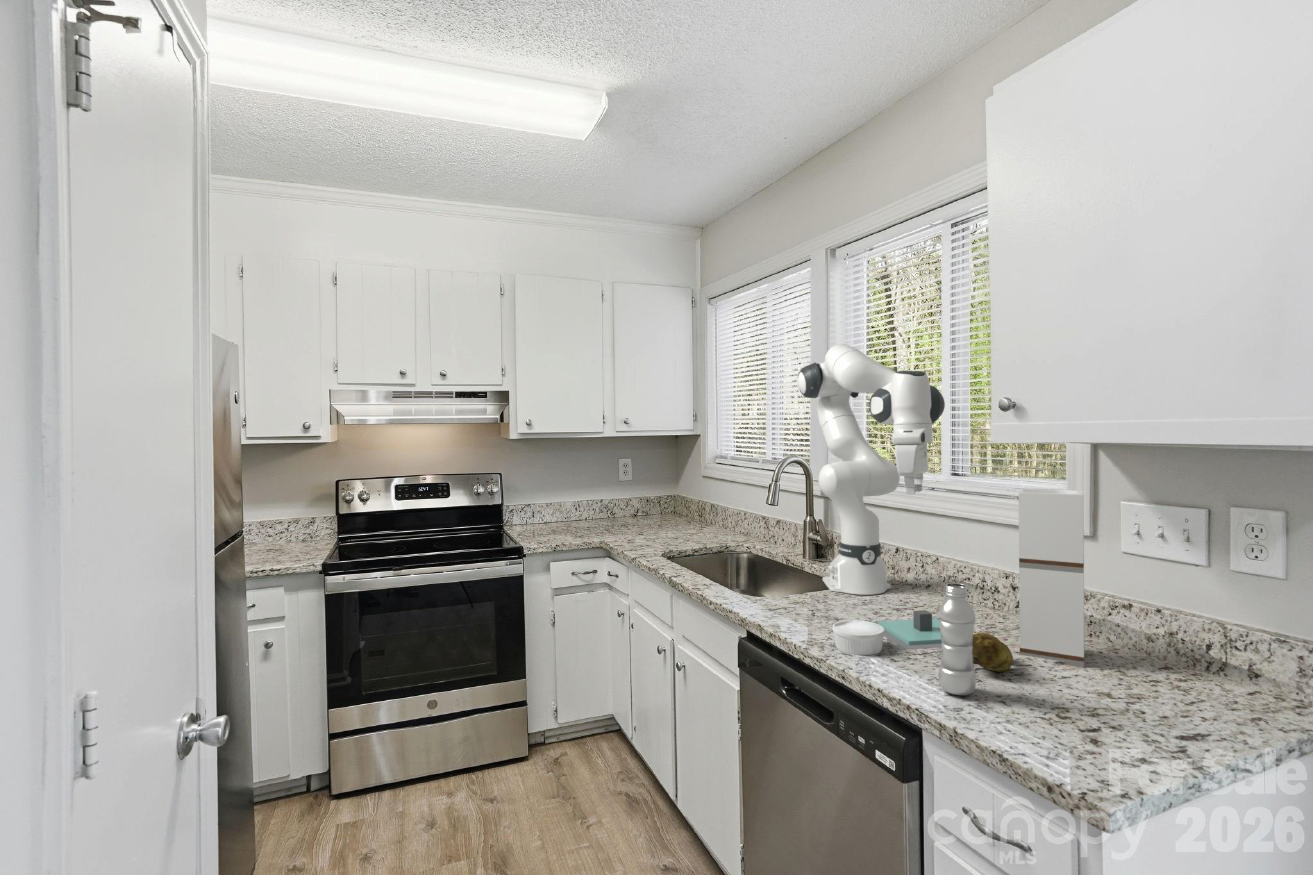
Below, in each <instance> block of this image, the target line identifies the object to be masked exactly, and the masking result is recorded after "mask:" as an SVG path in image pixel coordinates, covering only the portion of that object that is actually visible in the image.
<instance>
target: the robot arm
mask: <svg viewBox="0 0 1313 875" xmlns="http://www.w3.org/2000/svg"><path fill="white" fill-rule="evenodd" d="M824 356H825V357H824V361H823V362H822V361H821V362H818V363H817V362H813V363H810V364H808V365H806V366H803V367H801V369H800V370H799V372H798V374H797V386H798V390H799V392H800V394H801V395H802V396H803V397H804V398H807V399H817V398H819V399H818V400H817V402H816V414H817V419H818V420H817V421H818V423H819V427H820V430H821V433H822V436H823V439H824V441H825V444H826V446H827V449H828V451H829V452H830V453H831V454H832V455H833V456H834V457H836V458H838V459H841V460H838V461H834V462H831V463H828V464H825V465H823V466H822V467H821V468H820V471H819V473H818V476H817V482H818V485H819V486H818V487H819V489H820V490H821V492H822V493H823V494H824V495H825V496H826V497H828V498H829V499H830V500H831V501H832V503H833V504H834V506H835V508H836V510H837V514H838V516H839V524H840V525H839V526H840V542H838V543H839V544H838V552H837V553H838V554H837V556H835V558H833V560H832V561H831V562H830V564H829V565H827V570H826V571H827V574H829V575H826V576H823V577H822V582H824V584H825V586H826V587H827V588H828V589H829V590H830V591H831V592H837V593H844V594H845V593H846V594H851V595H863V596H864V595H866V596H867V595H879V594H882V593H885V592H886V591H887V590H889V589H891V588H892V587H891V586H892V585H891V583H888V581H887V570H886V562H885V560H884V559H882V557H881V555H882V544H881V542H880V520H879V518H878V516H877V515H876V513H875V512H873V511H871V510H870V509H868V508H867V507H866V504H865V501H864V497H865V498H866V497H878V496H884V495H887V494H889V493H893V492H895V491H896V490H897V489H898V487H899V484H900V479H901V478H900V477H903V478H904V485H905V491H906V492H905V493H906V495H909V496H910V495H911V496H913V495H915V494H916V493H917V492H918V493H920V492H922V491H923V481H924V473H927V472H928V471H929V456H928V444H931V443H933V424H935V423H936V421H938V420H939V418H940V417H941V416H942V414H943V413H944V411H945V407H946V406H945V405H946V402H945V397H944V396H943V395H942V393H941V391H940V390H939V389H937V387H936V386H934V385H931V384H930V379H929V377H928V375H927V373H925V372H924V371H921V370H898V371H897V370H895V369H892V368H891V367H888V366H886V365H884V364H882V363H880V362H878V361H876V360H874V359H873V358H871V357H870V356H868V355H866V354H865V353H863V352H862V351H861V350H859V349H857V348H855V347H853V346H851V345H849V344H845V343H844V344H843V343H840V344H839V343H838V344H836V345H833V346H831V347H830V348H829V350H828V351H827V352H826V354H825V355H824ZM859 393H862V394H872V395H871V396H870V398H869V411H870V412H869V413H870V416H872V419H874V420H875V421H876V422H877V423H879V424H883V425H884V424H885V425H892V428H893V432H892V433H893V434H892V438H891V442H892V444H893V445H895V446H894V453H895V463H896V465H895V464H894V463H893V462H891V461H889V460H888V459H885V458H884V457H882V456H881V455H880V454H879V453H878V452H877V451H875V449H873V447H871V445H870V444H869V443H868V441H867V440H866V438H865V437H864V434H863V433H862V430H861V428H860V426H859V424H858V420H857V419H856V416H855V414H854V412H853V410H852V408H851V404H850V397H851V398H854V399H856V398H858V397H859V395H860V394H859Z"/></svg>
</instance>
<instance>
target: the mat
mask: <svg viewBox="0 0 1313 875" xmlns="http://www.w3.org/2000/svg"><path fill="white" fill-rule="evenodd" d="M935 618H936V617H935ZM936 619H938V620H939V617H937V618H936ZM871 622H872V623H876V624H878V622H881V621H871ZM883 638H886V639H888V640H889V641H891V642H892V643H893V644H895V645H896V646H898V648H901V649H902V650H905V651H906V650H918V649H919V650H920V649H931V648H932V649H933V648H934V649H935V648H942V643H931V644H915V645H908V644H907V643H905V642H904V641H902V640H901V639H899V638H897V637H896V636H894V635H893V634H891V633H890V632H888V631H887V630H885V634H884V637H883Z"/></svg>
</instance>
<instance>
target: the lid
mask: <svg viewBox="0 0 1313 875" xmlns="http://www.w3.org/2000/svg"><path fill="white" fill-rule="evenodd" d="M912 613H913V618H912V619H902V620H901V619H898V620H883V621H881V622H880V621H877V622H878V624H879V625H881V626H882V627H883V628H884V629H885V630H887V631H888V632H890V633H891V634H893V635H894V636H896V637H897V638H899V639H901V640H902V641H904V642H905V643H907V644H908V645H915V644H931V643H942V641H941V630H940V624H939V620H938V619H936V617H934V618H933V613H931V612H929V611H928V610H926V609H923V610H913V612H912Z"/></svg>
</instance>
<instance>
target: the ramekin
mask: <svg viewBox="0 0 1313 875" xmlns="http://www.w3.org/2000/svg"><path fill="white" fill-rule="evenodd" d="M872 622H873V621H866V620H856V619H855V620H854V619H853V620H842V621H837V622H835V623H834V624H833V625H832V632H833V636H834V641H835V646H836V648H837V650H838V651H839V652H841V653H842V654H843V655H846V656H850V657H853V655H858V656H869V655H870V656H872V655H876V654H879V653H880V652H882V650H883V643H884V638H885V637H884V634H885V629H884V628H883V627H882V626H881V625H879V624H876V623H872Z"/></svg>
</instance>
